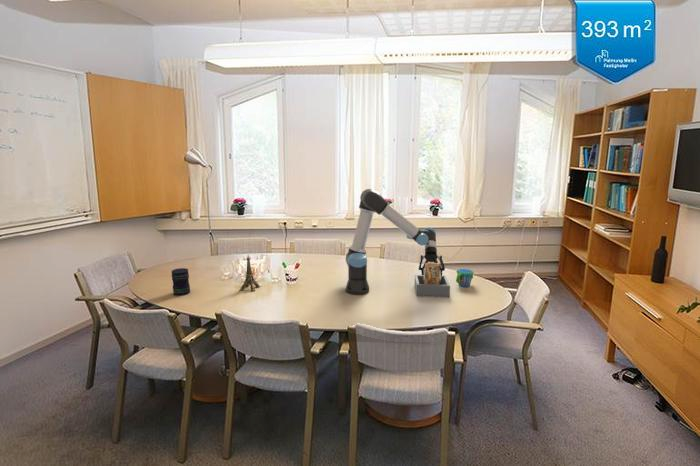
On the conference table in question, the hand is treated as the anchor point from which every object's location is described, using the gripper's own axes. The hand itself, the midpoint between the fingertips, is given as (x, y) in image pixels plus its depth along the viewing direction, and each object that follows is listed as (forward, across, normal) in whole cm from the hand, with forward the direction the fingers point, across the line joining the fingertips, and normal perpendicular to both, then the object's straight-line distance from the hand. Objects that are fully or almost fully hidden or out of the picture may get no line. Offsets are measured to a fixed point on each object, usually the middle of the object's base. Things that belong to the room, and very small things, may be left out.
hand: (432, 279), depth 258 cm
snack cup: (-5, -23, -18) cm, 30 cm away
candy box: (+2, 0, -6) cm, 7 cm away
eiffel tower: (+8, +117, -5) cm, 117 cm away
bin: (+4, 0, -8) cm, 9 cm away
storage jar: (+16, +157, +3) cm, 158 cm away
